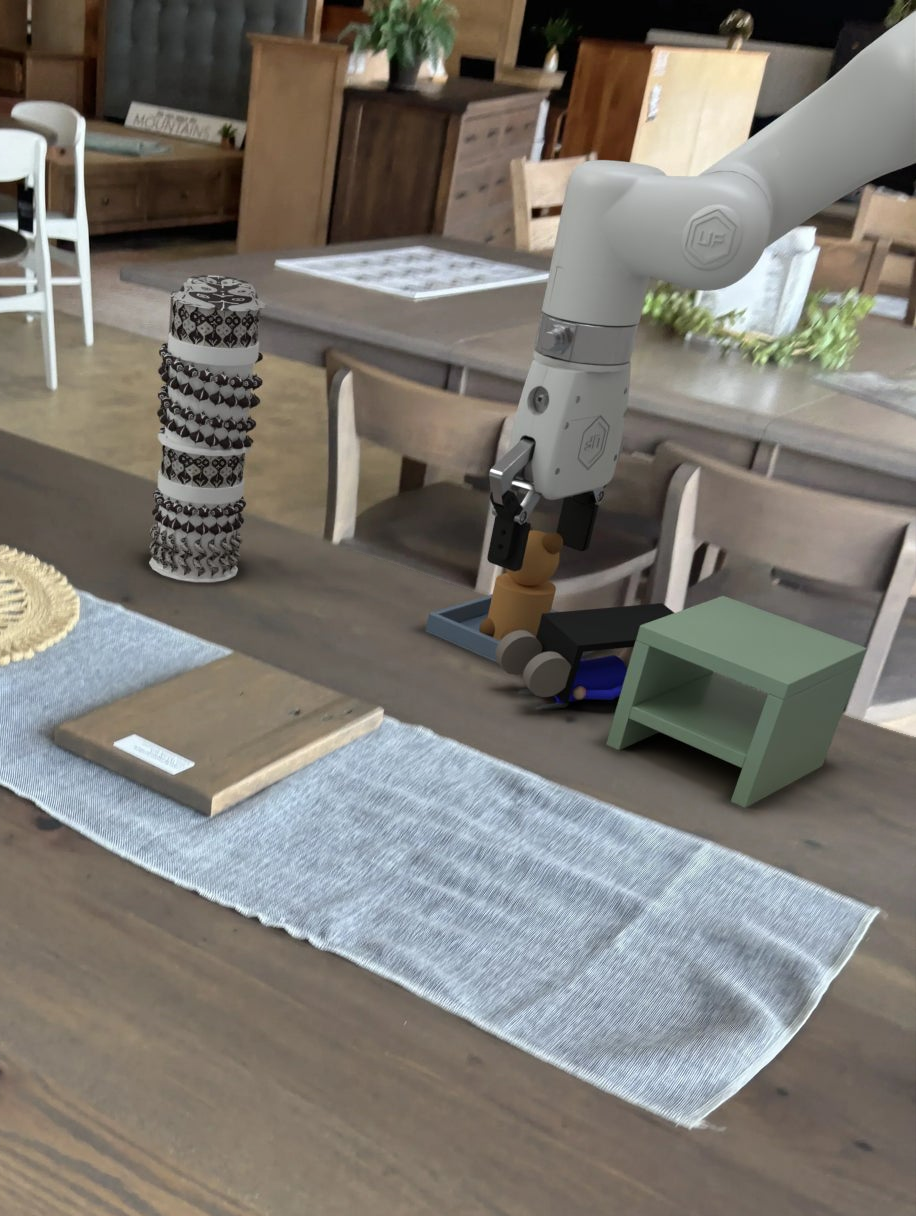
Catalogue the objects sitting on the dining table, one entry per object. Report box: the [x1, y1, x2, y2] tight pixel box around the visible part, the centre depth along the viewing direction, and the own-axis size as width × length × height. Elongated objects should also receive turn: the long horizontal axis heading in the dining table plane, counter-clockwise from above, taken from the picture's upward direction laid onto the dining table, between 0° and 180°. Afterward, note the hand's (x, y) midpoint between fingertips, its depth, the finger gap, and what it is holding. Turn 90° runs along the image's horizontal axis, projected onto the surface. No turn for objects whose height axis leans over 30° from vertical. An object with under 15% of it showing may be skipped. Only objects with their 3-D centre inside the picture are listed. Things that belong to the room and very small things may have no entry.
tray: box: [425, 593, 599, 664], centre depth 125 cm, size 11×11×2 cm
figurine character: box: [495, 602, 675, 711], centre depth 114 cm, size 7×8×15 cm
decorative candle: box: [148, 274, 267, 583], centre depth 126 cm, size 9×9×25 cm
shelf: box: [605, 595, 868, 809], centre depth 107 cm, size 12×12×10 cm
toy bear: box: [479, 526, 564, 641], centre depth 122 cm, size 6×5×10 cm
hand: (538, 556), depth 121 cm, fingers open, 9 cm apart
